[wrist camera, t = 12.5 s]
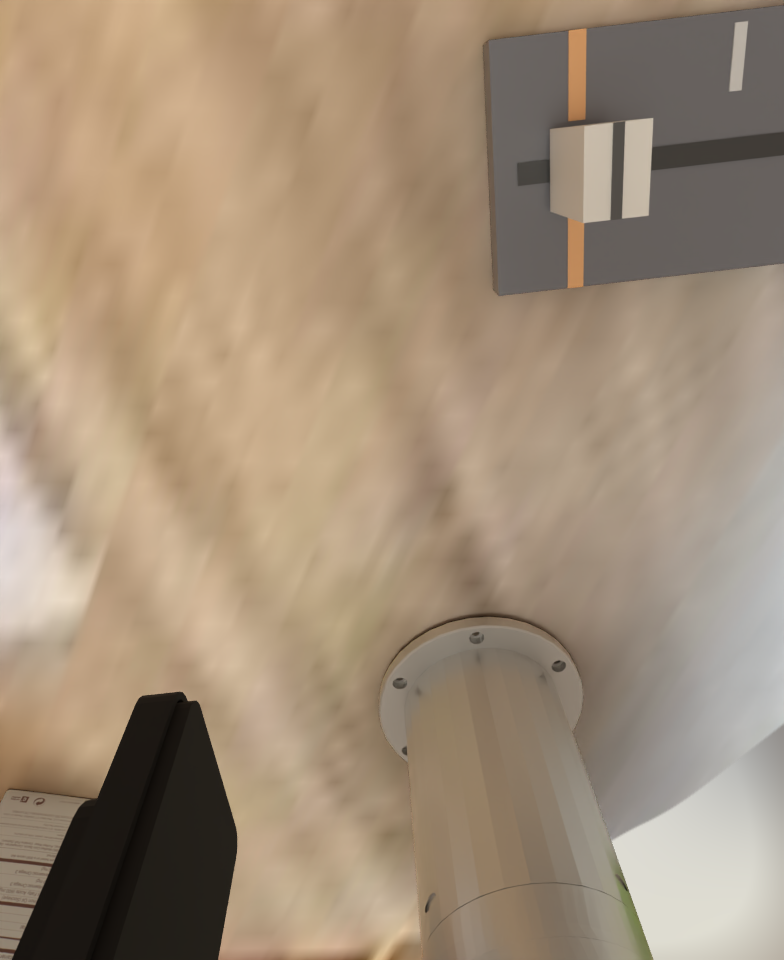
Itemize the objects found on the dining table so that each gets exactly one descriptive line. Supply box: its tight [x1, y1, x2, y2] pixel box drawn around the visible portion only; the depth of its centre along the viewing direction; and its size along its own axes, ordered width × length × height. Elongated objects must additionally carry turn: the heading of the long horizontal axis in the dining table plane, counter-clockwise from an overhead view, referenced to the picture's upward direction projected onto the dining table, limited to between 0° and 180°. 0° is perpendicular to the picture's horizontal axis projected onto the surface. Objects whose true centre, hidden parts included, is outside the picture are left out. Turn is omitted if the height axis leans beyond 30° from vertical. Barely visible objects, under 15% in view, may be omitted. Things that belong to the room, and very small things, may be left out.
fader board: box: [483, 5, 784, 296], centre depth 30 cm, size 10×20×2 cm, turn 96°
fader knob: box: [550, 118, 653, 223], centre depth 27 cm, size 3×2×5 cm
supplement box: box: [0, 790, 91, 960], centre depth 42 cm, size 7×7×13 cm
